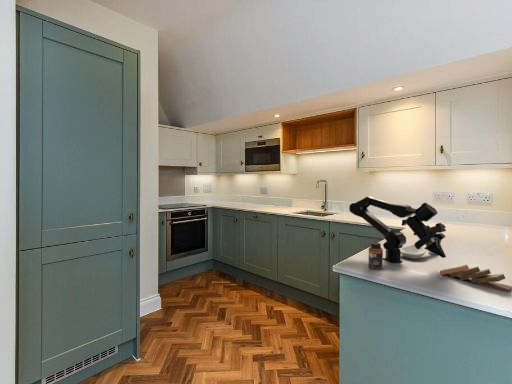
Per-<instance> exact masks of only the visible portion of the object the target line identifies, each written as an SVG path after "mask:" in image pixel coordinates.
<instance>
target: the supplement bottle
mask: <svg viewBox="0 0 512 384" xmlns="http://www.w3.org/2000/svg"><path fill="white" fill-rule="evenodd" d="M383 249H384V248H382V247H381V242H375V241H374V242H373V241H372V242H371V243H370V247H368V260H367V261H368V265H367V266H368V268H370V269H372V270H376V271H377V270H382V269H383V266H384V265H383V261H384V259H383V258H384V255H383V254H384V250H383Z"/></svg>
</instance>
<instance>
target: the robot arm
mask: <svg viewBox="0 0 512 384" xmlns="http://www.w3.org/2000/svg"><path fill="white" fill-rule="evenodd" d="M370 206H372V207H374V208H379V209H381V210H385V211H388V212H389V213H391V214H392V215H394V216H395V217H398V218H399V219H400V218H406V219H402V220H401V226H402V227H403V226H404V227H405V226H408V228H409V229H410V230H411V231H412V232H413V233H412V235H413V236H415V237H417V238H418V240H417V241H416V242H414V244H415V247H416V248H417V250H418V249H421V247H422V246H424V245H425V244H426V246H427V247H425V248H424V249H426V251H431V252H433V253H435V254H437V255H436V256H439V257H440V258H442V259H445V258H447V255H446V253H445V251H444V249H443V248H442V245H441V243H442V240H443V239H445V238H446V237H447V236H446V235H445V234H444V233H445V232H446V231H447V229H446V225H444V224H443V223H442V222H438V223H437V222H436V223H435V226H429V225H426V224H425V223H424V222H426V223H427V222H428V221H430V220H431V219H432V218H434V217H435V216H436V215H438V211H437V209H436V208H435V207H433V206H432V205H430V204H429V203H427V202H423V203H422V204H421V205H420V206H418V208H413V207H412V206H411V205H408V204H402V203H401V204H400V203H393V202H390V201H386V200H382V199H379V198H376V197H373V196H365V197H364V198H363V199H360V200H358V201H356V202H352V203H350V204H349V207H348V210H349V213H351V214H352V215H354V216H356V217H359V218H362V219H363V220H364V221H365V222H367V223H368V224H369V225H370V226H372V227H373V228H374V229H375V230H376V231H378V232H379V234H381V235H383V237H384V240H385V242H384V243H383V244H382V246H383V249H384V250H385V257H383V261H387V262H389V263H392V264H393V263H402V262H403V260H401V255H402V254H401V253H400V248H403V247H404V246H405V244H406V243H407V236H406V235H405V233H404V232H402V231H400V229H398V228H390V227H389V226H387V225H386V224H385V223H384V222H382V221H381V220H380V219H379V218H377V217H376V216H375V215H373V214H372V213H371V211H369V209H368V208H369V207H370ZM435 254H434V255H435Z"/></svg>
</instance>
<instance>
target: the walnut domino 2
mask: <svg viewBox="0 0 512 384" xmlns="http://www.w3.org/2000/svg"><path fill="white" fill-rule="evenodd" d="M486 275H492V271H491V270H490V269H489V268H488V269H483V270H482V269H481V270H480V271H478V272H476V273H472V274H467V275H462V276H458V277H459V280H460V281H463V280H464V281H465V280H469V279H470V280H471V278H477V277H482V276H486Z"/></svg>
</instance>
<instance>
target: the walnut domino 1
mask: <svg viewBox="0 0 512 384" xmlns="http://www.w3.org/2000/svg"><path fill="white" fill-rule="evenodd" d="M478 271H481V270H480V268H479V266H475V267H470V268H469V269H466V270H464V271H459V272H454V273H449V276H450V278H455V277H459V276H462V275H467V274H472V273H476V272H478Z"/></svg>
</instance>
